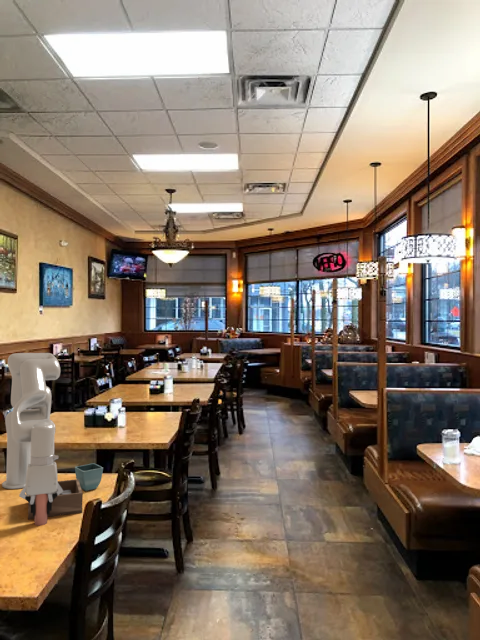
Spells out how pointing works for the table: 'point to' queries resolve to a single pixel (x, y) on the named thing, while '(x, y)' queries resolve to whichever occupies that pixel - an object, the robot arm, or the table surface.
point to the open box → (65, 500)
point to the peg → (41, 509)
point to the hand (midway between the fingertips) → (41, 513)
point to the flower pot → (89, 476)
